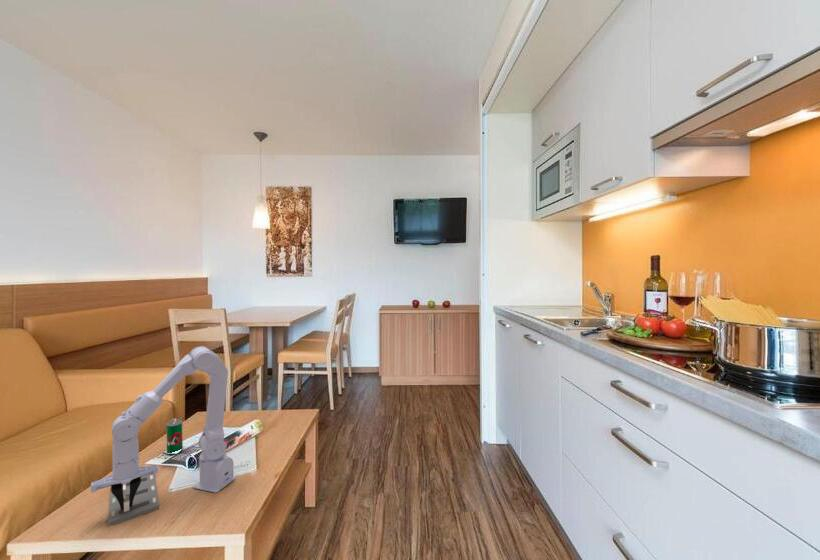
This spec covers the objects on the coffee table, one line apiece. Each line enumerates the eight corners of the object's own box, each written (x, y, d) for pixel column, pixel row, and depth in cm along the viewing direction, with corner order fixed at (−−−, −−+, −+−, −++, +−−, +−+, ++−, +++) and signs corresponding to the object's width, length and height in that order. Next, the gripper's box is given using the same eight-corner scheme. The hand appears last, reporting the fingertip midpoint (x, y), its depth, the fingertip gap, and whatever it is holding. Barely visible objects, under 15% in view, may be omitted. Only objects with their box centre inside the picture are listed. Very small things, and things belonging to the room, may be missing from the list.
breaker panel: (154, 474, 117) (154, 462, 117) (158, 508, 100) (158, 494, 100) (111, 487, 110) (111, 474, 110) (108, 526, 93) (108, 511, 93)
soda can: (185, 449, 134) (185, 418, 134) (175, 456, 129) (175, 424, 129) (173, 448, 135) (173, 417, 134) (163, 455, 129) (162, 423, 129)
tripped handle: (129, 504, 100) (129, 495, 100) (129, 510, 97) (129, 500, 97) (124, 506, 99) (123, 497, 99) (123, 512, 97) (123, 502, 96)
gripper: (89, 474, 90) (90, 526, 90) (158, 456, 99) (159, 503, 100) (91, 463, 96) (92, 512, 96) (156, 446, 105) (157, 491, 105)
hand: (126, 506), depth 98 cm, fingers closed, pressing on tripped handle
